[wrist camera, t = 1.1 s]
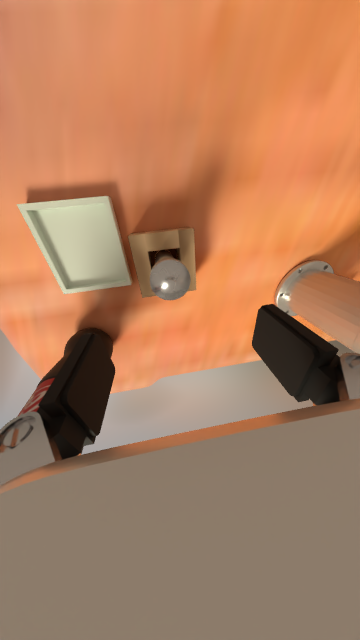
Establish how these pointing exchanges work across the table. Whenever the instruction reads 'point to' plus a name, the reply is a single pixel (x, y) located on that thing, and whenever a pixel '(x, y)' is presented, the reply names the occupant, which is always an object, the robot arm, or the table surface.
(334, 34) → the table surface
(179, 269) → the pin
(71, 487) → the robot arm
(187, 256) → the square wooden holder
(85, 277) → the tray
